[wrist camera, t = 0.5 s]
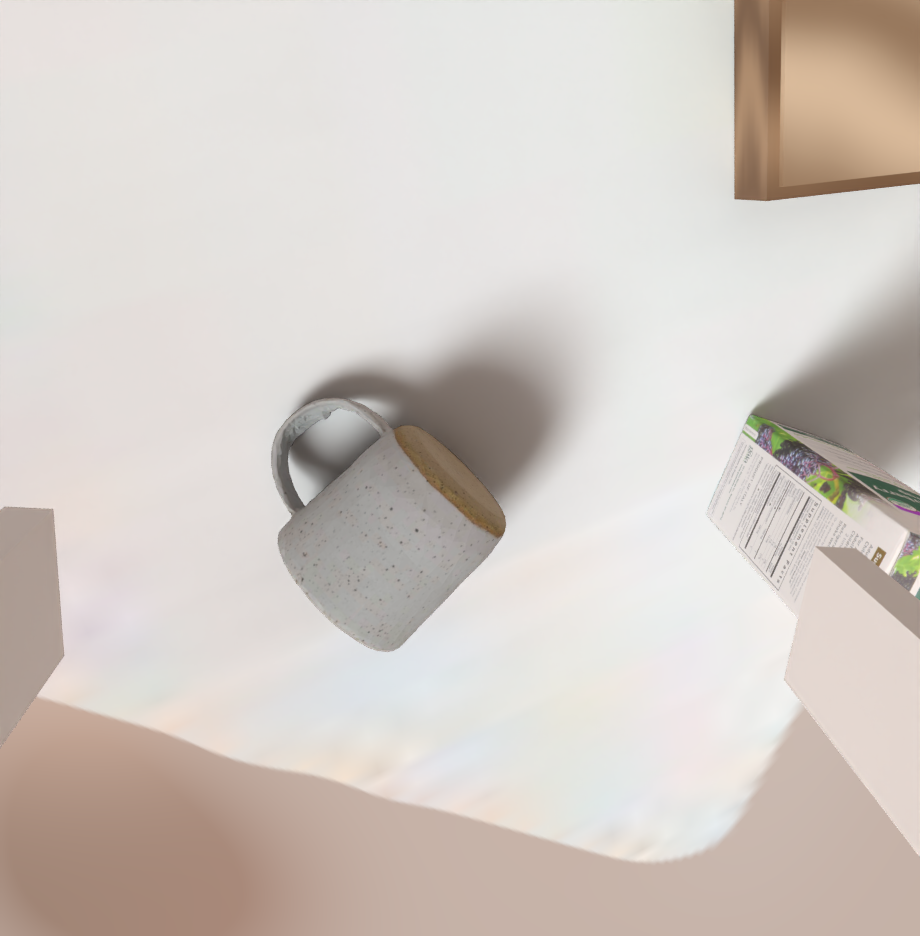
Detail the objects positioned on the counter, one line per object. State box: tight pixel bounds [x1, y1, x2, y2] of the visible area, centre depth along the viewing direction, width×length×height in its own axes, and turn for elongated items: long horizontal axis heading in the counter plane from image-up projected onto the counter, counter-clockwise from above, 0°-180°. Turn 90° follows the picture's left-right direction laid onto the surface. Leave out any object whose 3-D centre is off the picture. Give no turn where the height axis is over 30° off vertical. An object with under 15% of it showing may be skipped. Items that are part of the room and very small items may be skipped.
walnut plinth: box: [734, 0, 920, 201], centre depth 35 cm, size 12×12×4 cm
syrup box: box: [706, 415, 920, 619], centre depth 37 cm, size 6×6×14 cm
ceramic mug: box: [271, 398, 506, 652], centre depth 38 cm, size 11×8×8 cm
